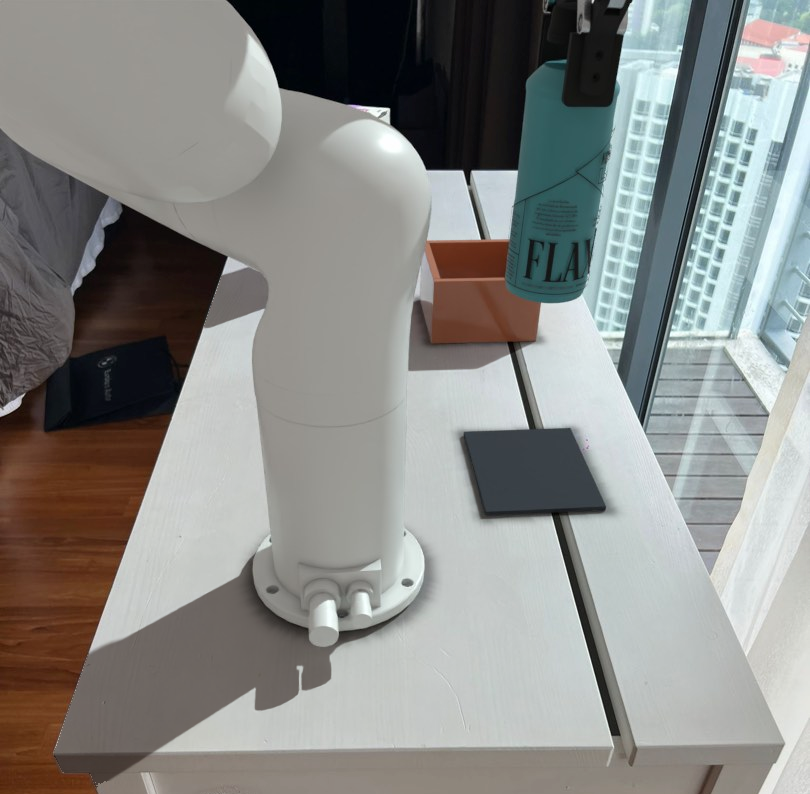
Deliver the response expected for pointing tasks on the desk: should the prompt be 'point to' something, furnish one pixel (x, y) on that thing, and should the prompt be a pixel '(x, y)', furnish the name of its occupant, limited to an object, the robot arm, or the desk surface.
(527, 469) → the mat
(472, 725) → the desk surface
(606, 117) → the beverage bottle
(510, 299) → the holder
